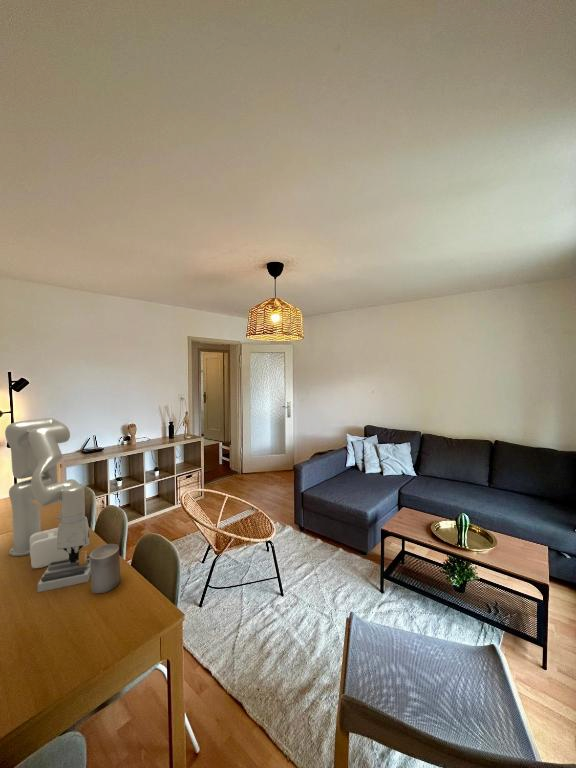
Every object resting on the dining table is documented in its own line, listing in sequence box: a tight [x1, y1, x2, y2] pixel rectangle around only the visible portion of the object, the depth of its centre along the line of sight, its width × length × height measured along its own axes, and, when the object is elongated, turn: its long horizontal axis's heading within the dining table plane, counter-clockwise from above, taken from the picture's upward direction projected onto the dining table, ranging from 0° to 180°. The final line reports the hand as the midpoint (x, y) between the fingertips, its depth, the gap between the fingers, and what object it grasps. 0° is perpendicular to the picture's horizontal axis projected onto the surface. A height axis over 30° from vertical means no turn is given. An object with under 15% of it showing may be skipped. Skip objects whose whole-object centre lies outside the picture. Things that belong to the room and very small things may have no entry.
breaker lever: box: [78, 549, 88, 566], centre depth 123 cm, size 3×3×6 cm
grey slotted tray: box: [37, 554, 91, 593], centre depth 122 cm, size 12×16×5 cm
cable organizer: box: [29, 527, 69, 569], centre depth 133 cm, size 15×11×12 cm
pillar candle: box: [89, 543, 121, 594], centre depth 117 cm, size 10×10×15 cm
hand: (74, 560), depth 122 cm, fingers closed
